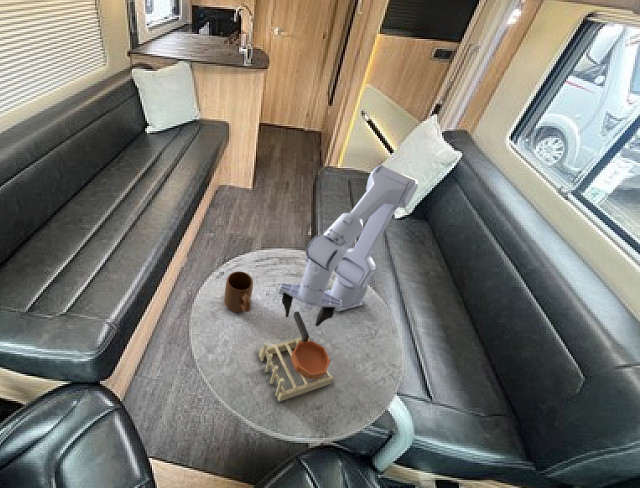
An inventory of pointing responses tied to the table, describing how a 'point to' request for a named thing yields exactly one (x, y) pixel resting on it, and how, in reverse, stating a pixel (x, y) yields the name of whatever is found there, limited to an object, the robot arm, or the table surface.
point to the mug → (238, 292)
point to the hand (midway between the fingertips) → (302, 318)
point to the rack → (295, 390)
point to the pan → (309, 354)
